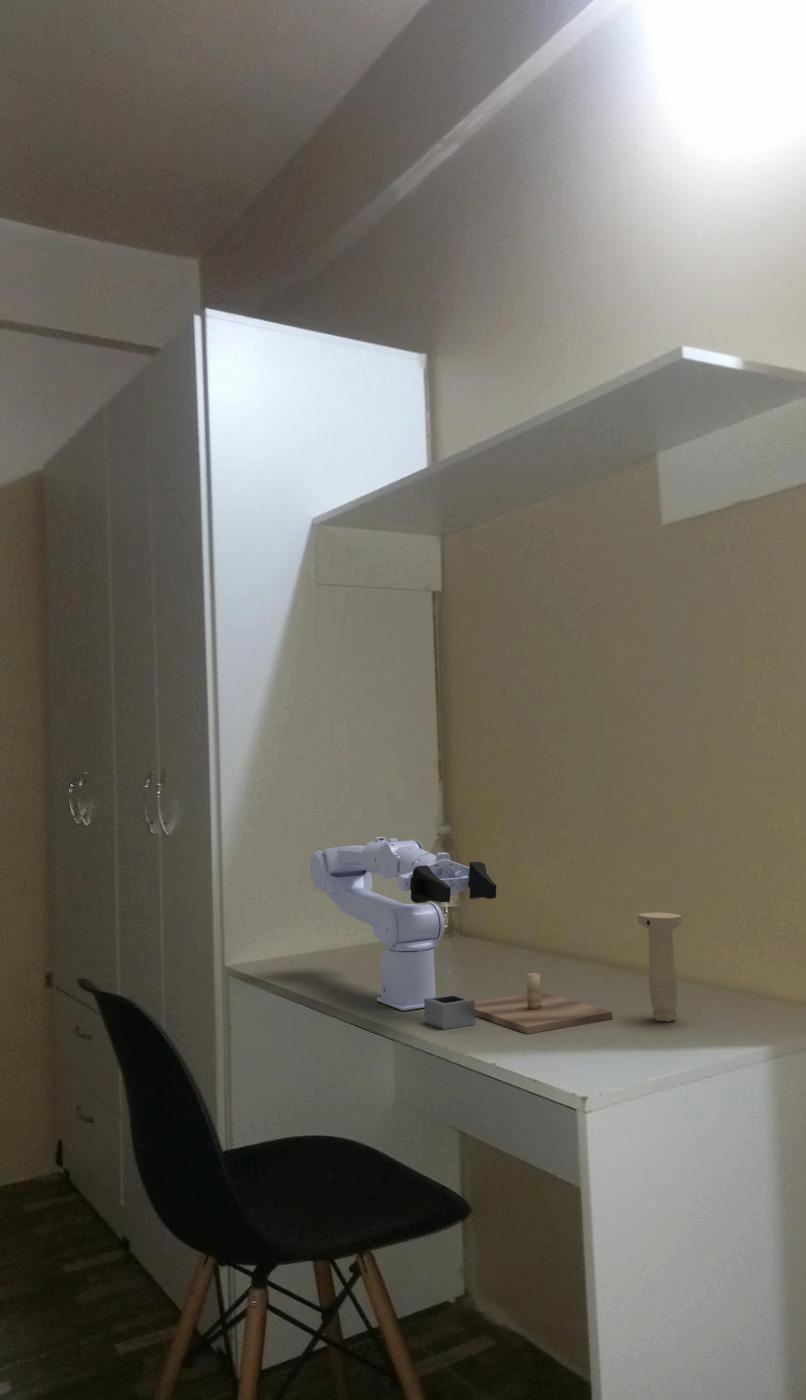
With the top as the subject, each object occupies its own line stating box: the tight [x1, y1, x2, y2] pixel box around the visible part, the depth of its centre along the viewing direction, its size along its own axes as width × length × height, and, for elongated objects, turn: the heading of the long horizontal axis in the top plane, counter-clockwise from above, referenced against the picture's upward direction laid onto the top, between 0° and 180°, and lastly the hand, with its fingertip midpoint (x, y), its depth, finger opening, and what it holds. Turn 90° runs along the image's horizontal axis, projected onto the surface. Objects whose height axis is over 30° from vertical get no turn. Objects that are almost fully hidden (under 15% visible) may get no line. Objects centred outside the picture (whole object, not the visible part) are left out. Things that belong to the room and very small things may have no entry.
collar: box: [423, 993, 476, 1030], centre depth 164 cm, size 5×5×4 cm
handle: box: [637, 911, 683, 1023], centre depth 162 cm, size 5×6×15 cm
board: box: [474, 972, 613, 1035], centre depth 168 cm, size 18×15×6 cm
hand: (471, 893), depth 161 cm, fingers open, 7 cm apart
